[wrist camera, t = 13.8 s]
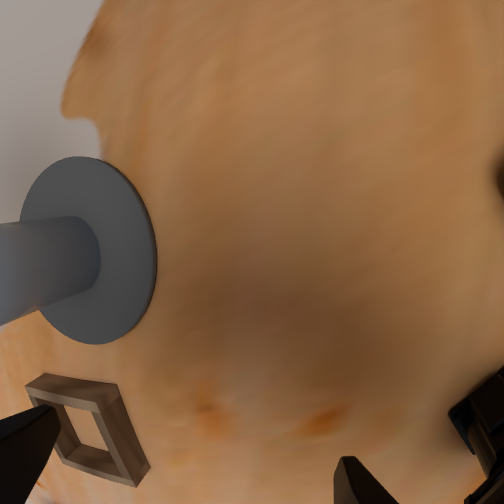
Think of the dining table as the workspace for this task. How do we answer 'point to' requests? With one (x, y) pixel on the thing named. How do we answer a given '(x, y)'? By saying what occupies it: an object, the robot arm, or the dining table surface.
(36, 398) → the jug holder
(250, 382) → the dining table surface
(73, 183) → the rubber mat
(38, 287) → the jug
